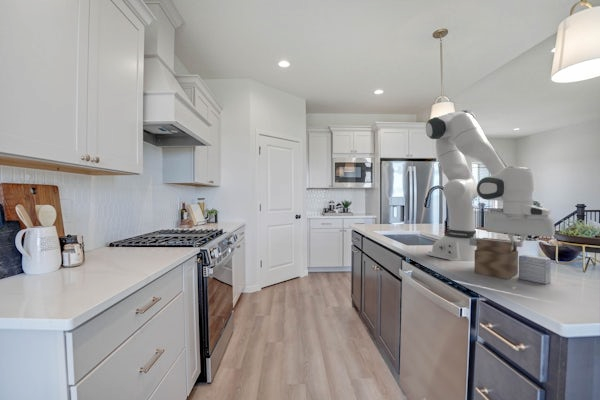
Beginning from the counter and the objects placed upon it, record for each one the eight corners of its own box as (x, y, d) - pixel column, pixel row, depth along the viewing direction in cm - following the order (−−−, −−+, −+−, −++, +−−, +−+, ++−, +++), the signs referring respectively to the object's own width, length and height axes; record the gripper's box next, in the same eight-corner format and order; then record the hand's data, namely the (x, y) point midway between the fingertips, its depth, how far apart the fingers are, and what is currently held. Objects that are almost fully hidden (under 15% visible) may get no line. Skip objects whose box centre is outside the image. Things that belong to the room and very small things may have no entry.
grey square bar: (469, 245, 111) (469, 237, 111) (472, 244, 113) (472, 237, 113) (511, 250, 100) (511, 242, 100) (513, 249, 102) (513, 241, 102)
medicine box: (550, 282, 94) (551, 258, 94) (546, 284, 92) (546, 259, 92) (523, 276, 101) (523, 254, 101) (518, 278, 98) (518, 255, 98)
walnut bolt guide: (474, 272, 106) (474, 240, 106) (485, 267, 113) (485, 237, 113) (508, 279, 97) (509, 244, 97) (517, 273, 105) (518, 240, 105)
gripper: (482, 208, 106) (482, 243, 106) (552, 210, 90) (552, 251, 90) (487, 208, 110) (487, 241, 110) (556, 210, 94) (555, 249, 94)
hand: (517, 246), depth 100 cm, fingers closed
